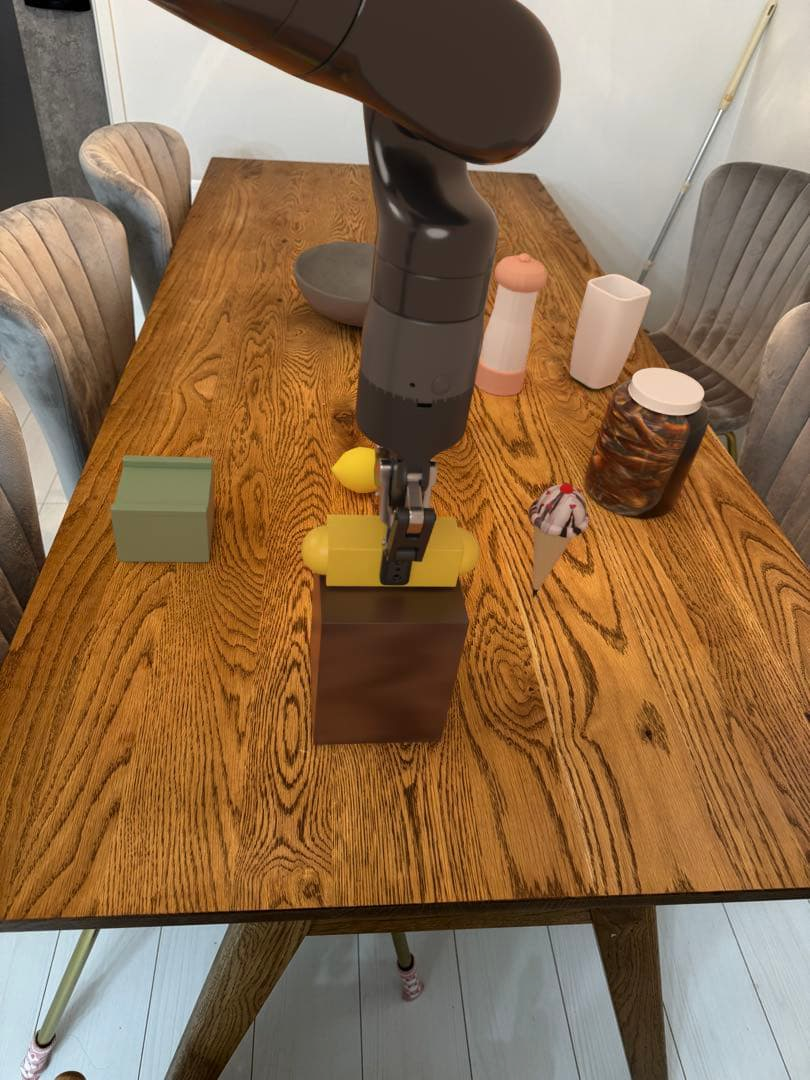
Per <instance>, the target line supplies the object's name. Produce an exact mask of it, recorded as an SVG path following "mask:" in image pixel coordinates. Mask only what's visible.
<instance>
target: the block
mask: <svg viewBox="0 0 810 1080" xmlns="http://www.w3.org/2000/svg"><path fill="white" fill-rule="evenodd" d="M213 461H214V460H213V457H207V456H206V457H202V456H201V457H200V456H169V455H167V456H166V455H135V454H134V455H133V454H123V457H122V471H121V474H120V478H119V483H118V487H117V490H116V494H115V498H114V502H113V503H111V504H110V508H109V511H110V519H111V525H112V531H113V537H114V544H115V550H116V557H117V562H119V563H120V562H121V563H123V562H124V563H128V562H129V563H210V561H211V560H210V559H211V551H212V540H213V530H214V520H215V508H216V503H215V502H216V501H215V482H214V463H213Z"/></svg>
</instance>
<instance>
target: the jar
mask: <svg viewBox="0 0 810 1080" xmlns="http://www.w3.org/2000/svg"><path fill="white" fill-rule="evenodd" d="M704 397H705V390H704V388H703V386H702V385H701V384H700V383H699V382H698V381H697V380H695V379H694V378H693V377H691V376H689V375H687V374H686V373H683V372H681V371H677V370H674V369H669V368H664V367H646V368H642V369H639V370H637V371H636V372H635V373H634V374H633V375H632V378H631V379H629V380H626V381H623V382H621V383H620V384H618V385H617V387H616V388H615V389H614V390H613V392H612V394H611V396H610V399H609V402H608V404H607V407H606V409H605V413H604V415H603V418H602V421H601V425H600V427H599V430H598V433H597V436H596V440H595V443H594V444H593V448H592V452H591V455H590V459H589V461H588V464H587V468H586V471H585V474H584V479H583V485H584V488H585V490H586V492H587V494H588V495H589V497H590V498H591V499H592V500H593V501H594V502H595V503H596V504H598V506H599V505H600V506H601V507H603V508H604V509H606V510H608V511H610V512H612V513H615V514H617V515H620V516H622V517H623V516H624V517H628V518H633V519H653V518H658V517H662V516H664V515H666V514H668V513H670V512H671V510H673V509H674V507H675V505H676V503H677V501H678V499H679V497H680V495H681V493H682V490H683V488H684V485H685V483H686V481H687V478H688V476H689V474H690V471H691V469H692V467H693V464H694V461H695V459H696V456H697V454H698V452H699V450H700V447H701V445H702V443H703V439H704V436H705V435H706V431H707V429H708V425H709V422H710V418H711V412H710V408H709V405H708V404H707V403H706V401H705V400H704Z"/></svg>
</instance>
